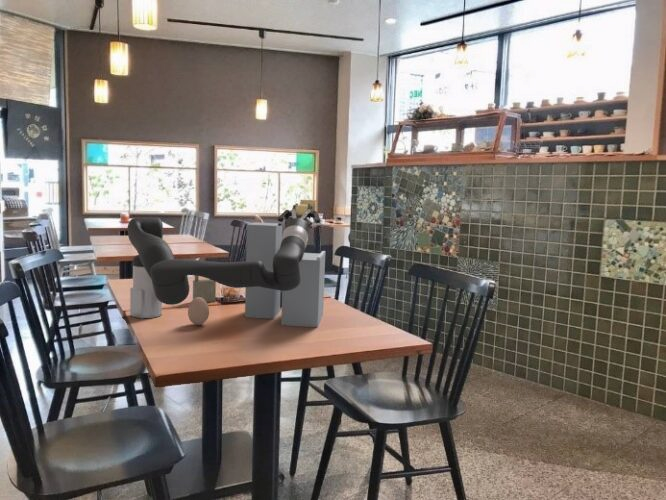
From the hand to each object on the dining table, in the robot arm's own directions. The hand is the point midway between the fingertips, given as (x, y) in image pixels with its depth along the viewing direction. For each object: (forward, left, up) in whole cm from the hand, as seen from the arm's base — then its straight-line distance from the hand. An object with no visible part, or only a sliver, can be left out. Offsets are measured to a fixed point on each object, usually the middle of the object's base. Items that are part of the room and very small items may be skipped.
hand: (303, 206), depth 174 cm
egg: (-21, +25, -39) cm, 51 cm away
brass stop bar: (+4, +2, -3) cm, 6 cm away
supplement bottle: (+21, +24, -39) cm, 51 cm away
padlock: (+4, +50, -39) cm, 64 cm away
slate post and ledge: (+5, +11, -39) cm, 41 cm away
